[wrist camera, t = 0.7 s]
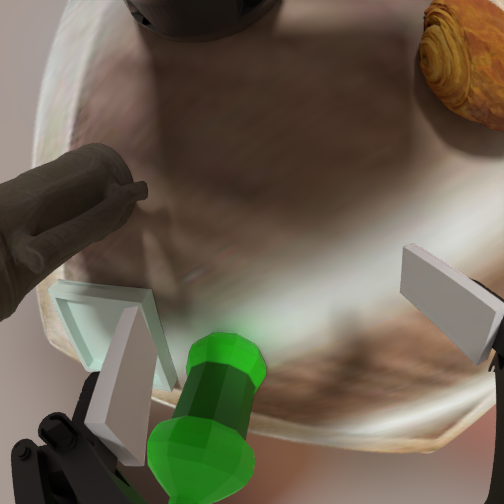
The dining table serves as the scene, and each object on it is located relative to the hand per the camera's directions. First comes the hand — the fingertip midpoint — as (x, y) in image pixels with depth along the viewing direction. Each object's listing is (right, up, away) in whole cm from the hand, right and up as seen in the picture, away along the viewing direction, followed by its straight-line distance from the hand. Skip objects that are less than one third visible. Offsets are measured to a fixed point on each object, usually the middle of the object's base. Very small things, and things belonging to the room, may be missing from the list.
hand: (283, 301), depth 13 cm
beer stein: (-17, +10, +16) cm, 25 cm away
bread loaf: (+21, +22, +4) cm, 30 cm away
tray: (-22, -10, +26) cm, 36 cm away
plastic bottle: (-4, -10, +24) cm, 26 cm away
